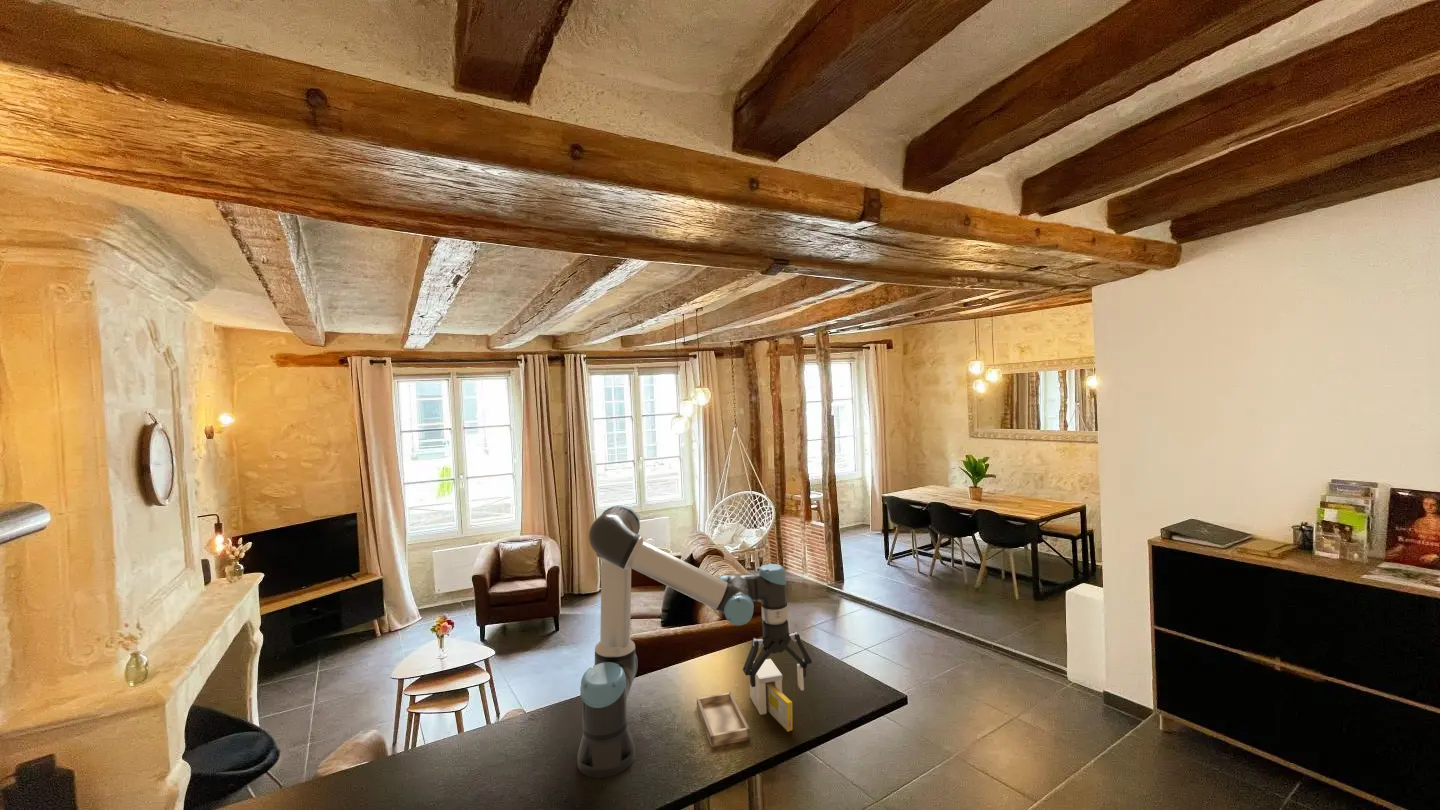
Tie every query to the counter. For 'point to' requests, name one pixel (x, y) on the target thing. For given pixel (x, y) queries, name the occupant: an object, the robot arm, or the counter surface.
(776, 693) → the candy box
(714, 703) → the tray
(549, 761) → the counter surface
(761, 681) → the white box
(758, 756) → the counter surface
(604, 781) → the counter surface
